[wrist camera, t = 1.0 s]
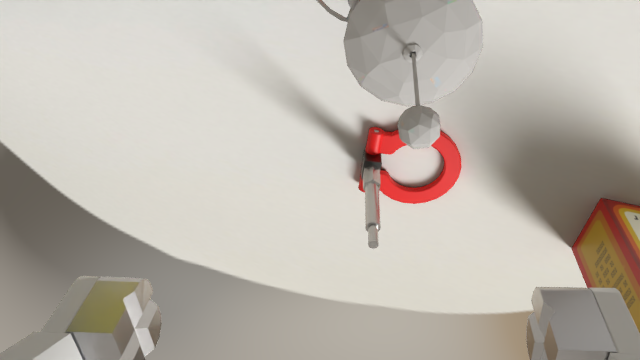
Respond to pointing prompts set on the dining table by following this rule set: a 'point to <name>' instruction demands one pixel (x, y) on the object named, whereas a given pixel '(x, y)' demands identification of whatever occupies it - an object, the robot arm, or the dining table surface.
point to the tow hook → (381, 180)
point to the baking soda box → (612, 251)
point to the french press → (412, 55)
